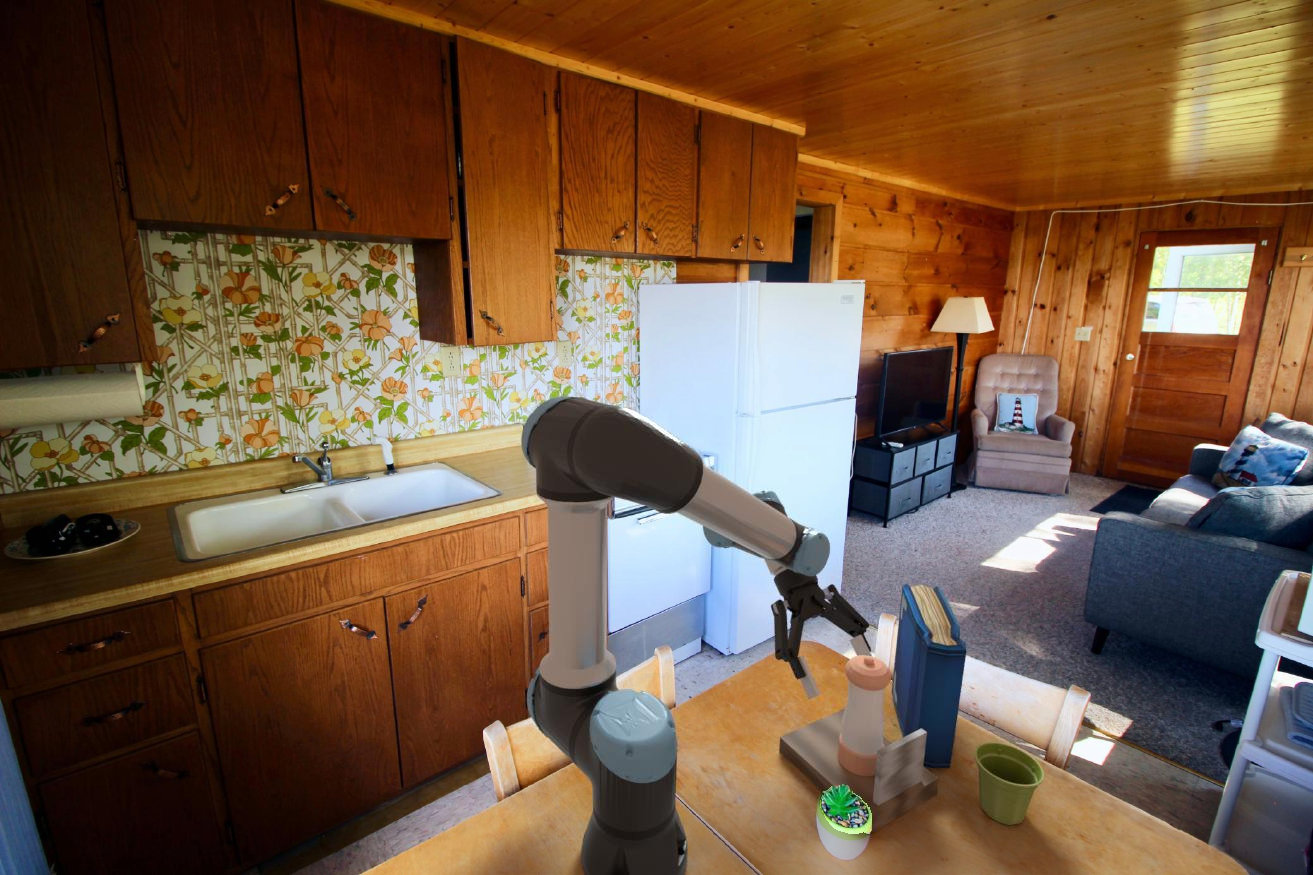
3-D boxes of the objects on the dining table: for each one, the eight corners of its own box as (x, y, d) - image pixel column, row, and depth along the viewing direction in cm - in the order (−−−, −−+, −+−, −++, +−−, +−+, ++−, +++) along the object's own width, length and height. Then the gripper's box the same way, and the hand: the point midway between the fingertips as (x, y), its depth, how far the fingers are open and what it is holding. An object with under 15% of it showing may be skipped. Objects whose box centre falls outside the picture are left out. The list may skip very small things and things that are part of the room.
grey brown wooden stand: (867, 835, 92) (874, 766, 89) (779, 751, 109) (782, 691, 106) (937, 794, 99) (945, 729, 97) (844, 721, 116) (848, 665, 114)
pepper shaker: (838, 772, 100) (846, 667, 96) (836, 741, 107) (844, 642, 103) (885, 780, 98) (896, 674, 94) (880, 748, 105) (890, 648, 101)
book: (956, 779, 103) (973, 644, 97) (911, 772, 104) (925, 639, 98) (927, 698, 123) (940, 584, 118) (890, 694, 125) (901, 580, 119)
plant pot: (970, 778, 103) (976, 733, 101) (1036, 801, 98) (1043, 755, 96) (965, 818, 95) (971, 770, 93) (1036, 845, 90) (1045, 795, 88)
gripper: (829, 563, 123) (882, 669, 113) (727, 591, 111) (776, 712, 102) (851, 548, 117) (909, 658, 108) (745, 576, 105) (800, 702, 96)
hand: (844, 685), depth 105 cm, fingers open, 13 cm apart
